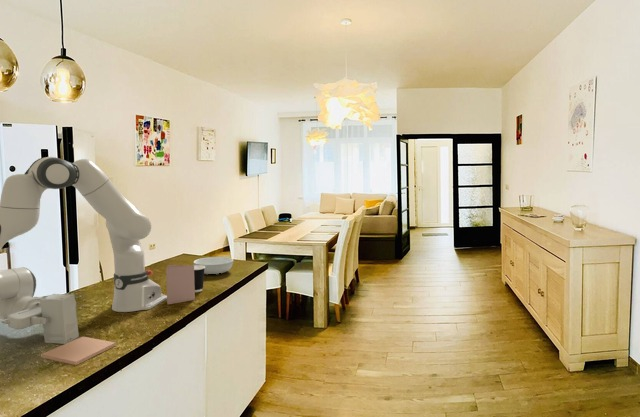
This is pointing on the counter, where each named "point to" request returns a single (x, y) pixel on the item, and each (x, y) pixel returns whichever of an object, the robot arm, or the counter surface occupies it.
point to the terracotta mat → (78, 350)
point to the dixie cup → (198, 277)
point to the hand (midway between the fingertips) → (60, 315)
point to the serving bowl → (215, 264)
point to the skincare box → (59, 318)
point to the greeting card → (180, 283)
